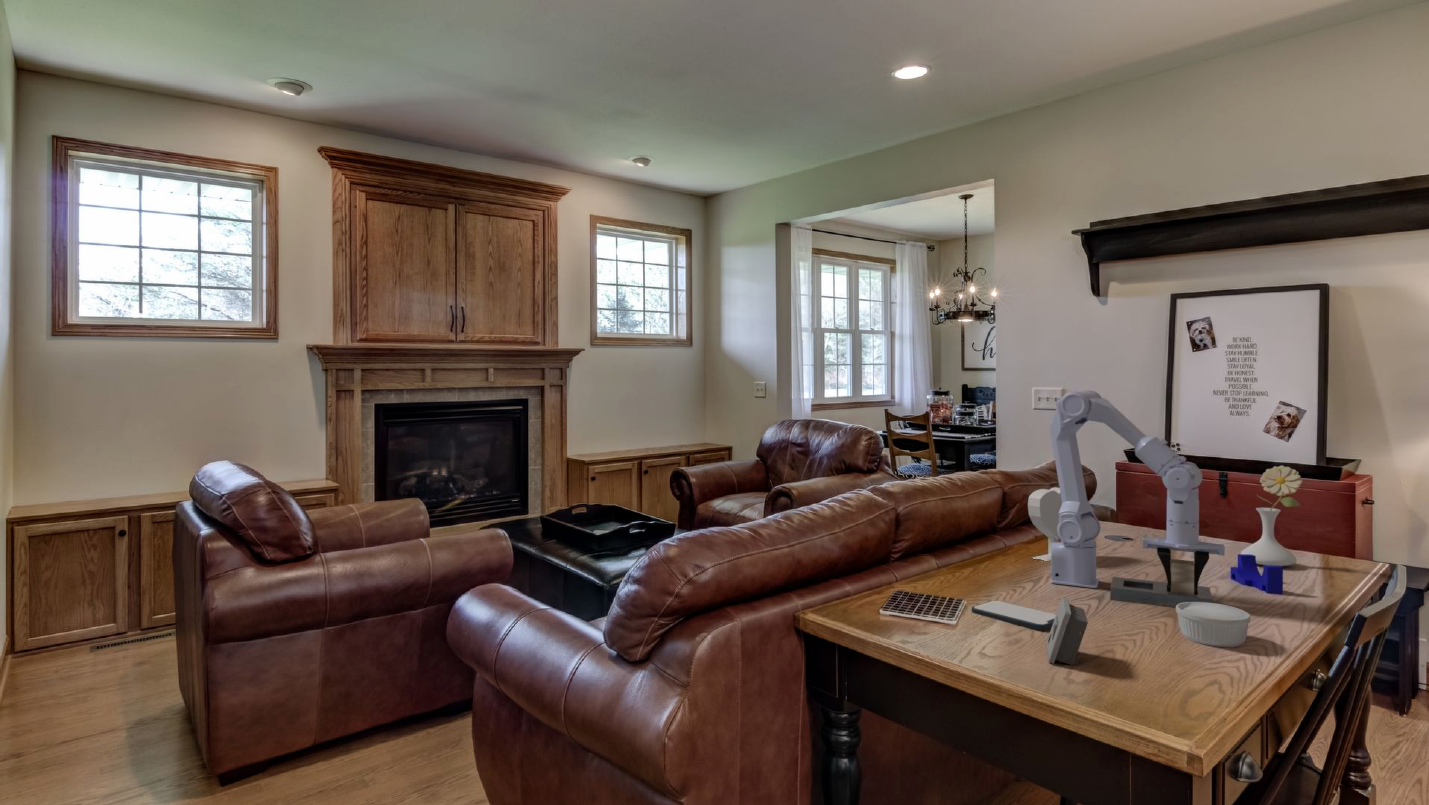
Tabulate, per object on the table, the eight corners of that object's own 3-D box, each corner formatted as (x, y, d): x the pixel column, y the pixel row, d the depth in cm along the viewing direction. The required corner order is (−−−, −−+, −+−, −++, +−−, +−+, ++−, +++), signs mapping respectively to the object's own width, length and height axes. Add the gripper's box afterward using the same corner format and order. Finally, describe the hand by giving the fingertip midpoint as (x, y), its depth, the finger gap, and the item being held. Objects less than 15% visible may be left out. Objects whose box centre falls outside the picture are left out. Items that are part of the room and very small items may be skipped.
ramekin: (1180, 624, 142) (1180, 597, 142) (1252, 637, 135) (1252, 608, 135) (1171, 641, 133) (1171, 611, 133) (1247, 655, 126) (1247, 624, 126)
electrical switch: (1046, 645, 132) (1051, 594, 131) (1078, 652, 130) (1084, 600, 129) (1048, 665, 123) (1054, 610, 122) (1082, 672, 121) (1089, 616, 120)
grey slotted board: (1110, 599, 158) (1110, 587, 158) (1112, 587, 167) (1112, 576, 167) (1212, 611, 149) (1212, 599, 149) (1209, 599, 158) (1209, 587, 157)
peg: (1171, 601, 155) (1171, 563, 155) (1170, 596, 158) (1171, 559, 158) (1193, 604, 153) (1194, 565, 153) (1193, 599, 156) (1193, 561, 156)
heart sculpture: (1063, 551, 202) (1063, 485, 201) (1080, 555, 197) (1080, 487, 197) (1025, 559, 194) (1025, 490, 194) (1042, 563, 190) (1042, 492, 189)
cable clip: (1230, 579, 173) (1230, 554, 173) (1251, 580, 172) (1251, 554, 172) (1259, 594, 161) (1259, 566, 161) (1282, 595, 161) (1282, 567, 160)
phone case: (968, 615, 151) (1043, 634, 138) (968, 607, 151) (1043, 626, 138) (994, 606, 156) (1068, 625, 143) (994, 599, 156) (1068, 616, 143)
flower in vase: (1229, 561, 189) (1230, 463, 188) (1256, 556, 193) (1257, 461, 193) (1287, 573, 177) (1288, 468, 176) (1314, 568, 182) (1315, 466, 181)
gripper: (1142, 521, 156) (1141, 585, 156) (1226, 527, 148) (1225, 595, 149) (1142, 515, 162) (1142, 577, 162) (1223, 521, 154) (1222, 586, 155)
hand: (1182, 585), depth 156 cm, fingers closed on peg, 4 cm apart
